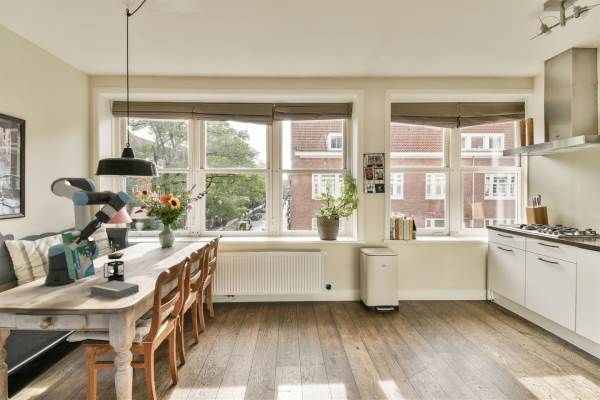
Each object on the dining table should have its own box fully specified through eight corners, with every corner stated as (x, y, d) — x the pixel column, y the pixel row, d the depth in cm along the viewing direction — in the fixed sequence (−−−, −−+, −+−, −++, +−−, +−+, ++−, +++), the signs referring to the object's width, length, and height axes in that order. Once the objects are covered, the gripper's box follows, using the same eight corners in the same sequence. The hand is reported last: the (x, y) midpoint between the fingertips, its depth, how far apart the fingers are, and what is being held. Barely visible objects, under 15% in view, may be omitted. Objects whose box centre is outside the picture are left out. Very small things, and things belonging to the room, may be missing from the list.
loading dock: (91, 294, 182) (90, 286, 182) (114, 287, 194) (114, 279, 194) (116, 299, 174) (116, 291, 174) (138, 291, 186) (138, 284, 186)
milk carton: (76, 280, 172) (68, 233, 169) (69, 277, 178) (61, 232, 174) (95, 274, 180) (87, 229, 177) (87, 272, 185) (79, 228, 182)
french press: (126, 278, 212) (126, 243, 212) (124, 282, 204) (124, 245, 203) (105, 280, 208) (104, 244, 207) (102, 284, 199) (102, 246, 198)
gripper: (115, 219, 179) (80, 254, 168) (107, 217, 189) (73, 250, 178) (104, 210, 175) (67, 245, 164) (96, 209, 185) (60, 242, 174)
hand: (70, 248), depth 171 cm, fingers closed on milk carton, 2 cm apart
